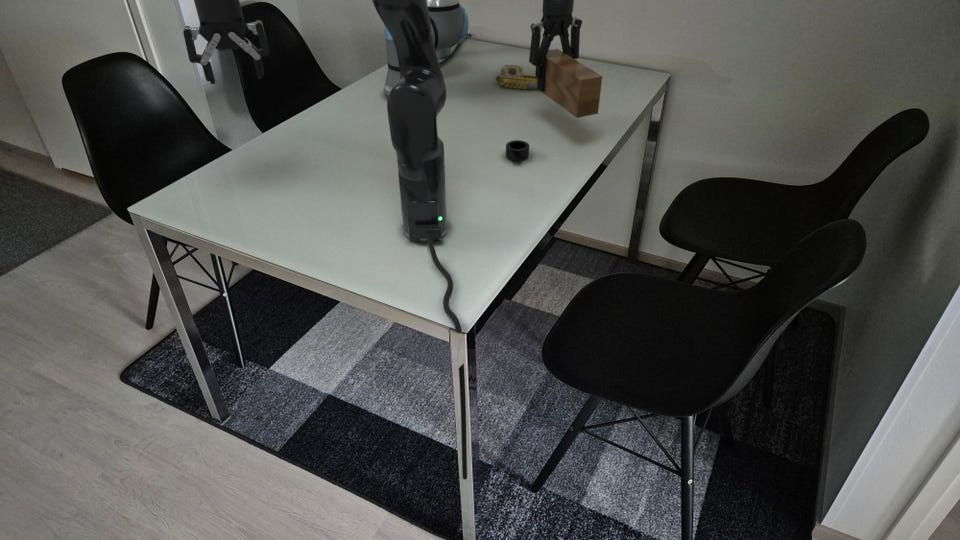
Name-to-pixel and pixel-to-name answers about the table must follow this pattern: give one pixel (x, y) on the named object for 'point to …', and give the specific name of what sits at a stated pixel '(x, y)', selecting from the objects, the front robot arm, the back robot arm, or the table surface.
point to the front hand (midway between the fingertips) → (236, 80)
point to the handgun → (515, 78)
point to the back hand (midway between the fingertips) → (552, 87)
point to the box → (571, 84)
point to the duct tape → (517, 150)
